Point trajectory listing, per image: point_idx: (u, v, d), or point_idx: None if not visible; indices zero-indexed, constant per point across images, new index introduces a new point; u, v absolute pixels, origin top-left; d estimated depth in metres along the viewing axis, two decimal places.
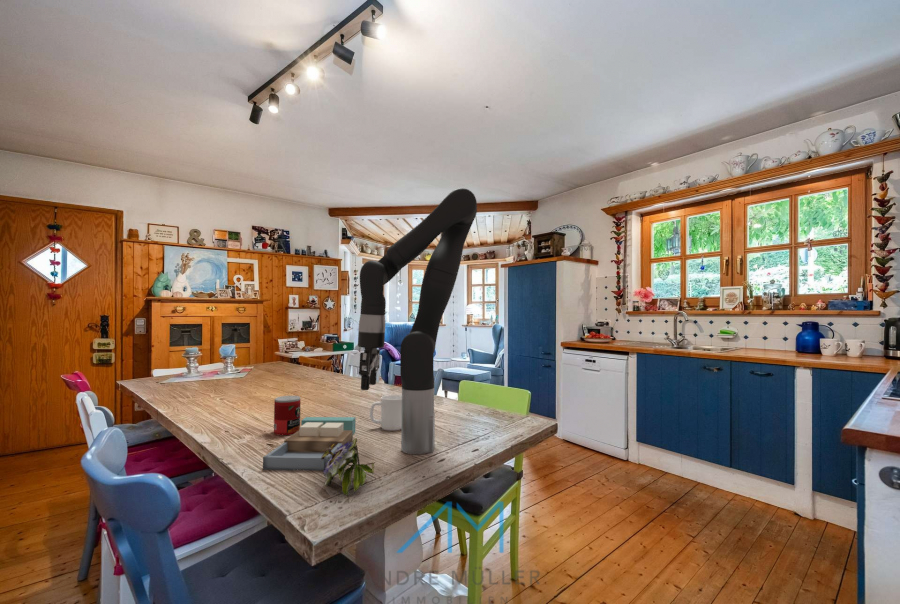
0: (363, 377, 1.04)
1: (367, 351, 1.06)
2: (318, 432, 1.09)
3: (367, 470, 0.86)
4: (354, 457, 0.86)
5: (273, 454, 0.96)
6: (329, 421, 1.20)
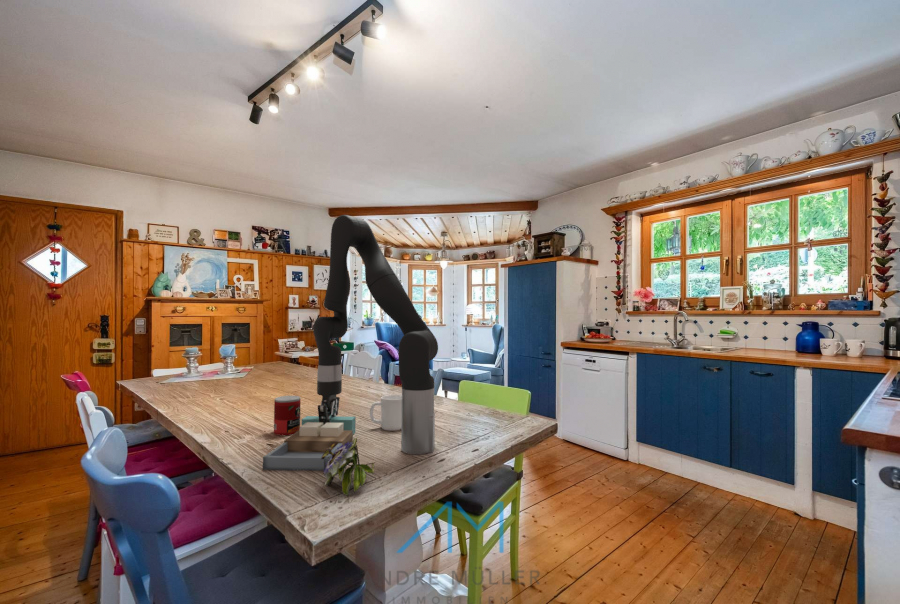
0: None
1: (325, 399, 1.19)
2: (318, 432, 1.09)
3: (367, 470, 0.86)
4: (354, 457, 0.86)
5: (273, 454, 0.96)
6: None
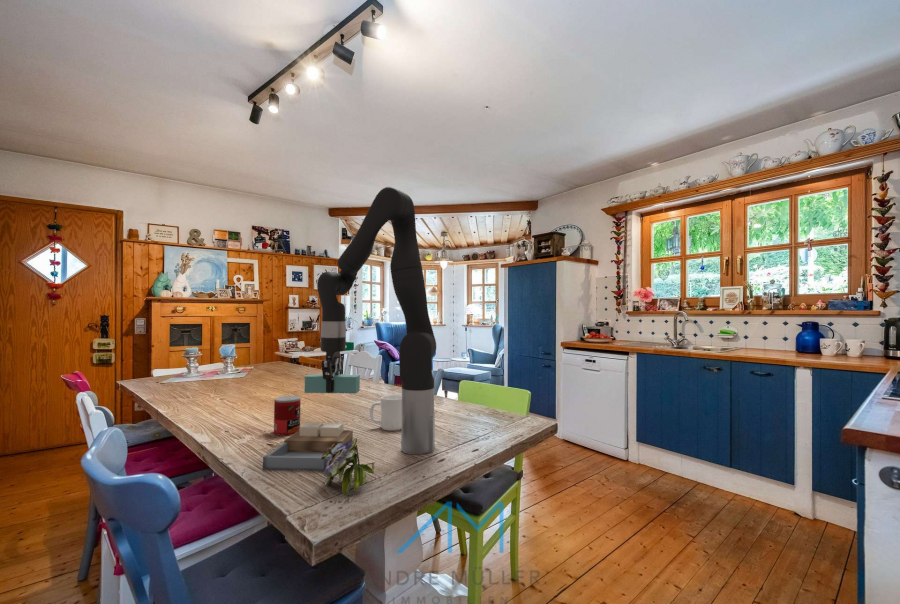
0: (327, 381, 1.16)
1: (328, 355, 1.16)
2: (318, 432, 1.09)
3: (367, 470, 0.86)
4: (354, 457, 0.86)
5: (273, 454, 0.96)
6: None
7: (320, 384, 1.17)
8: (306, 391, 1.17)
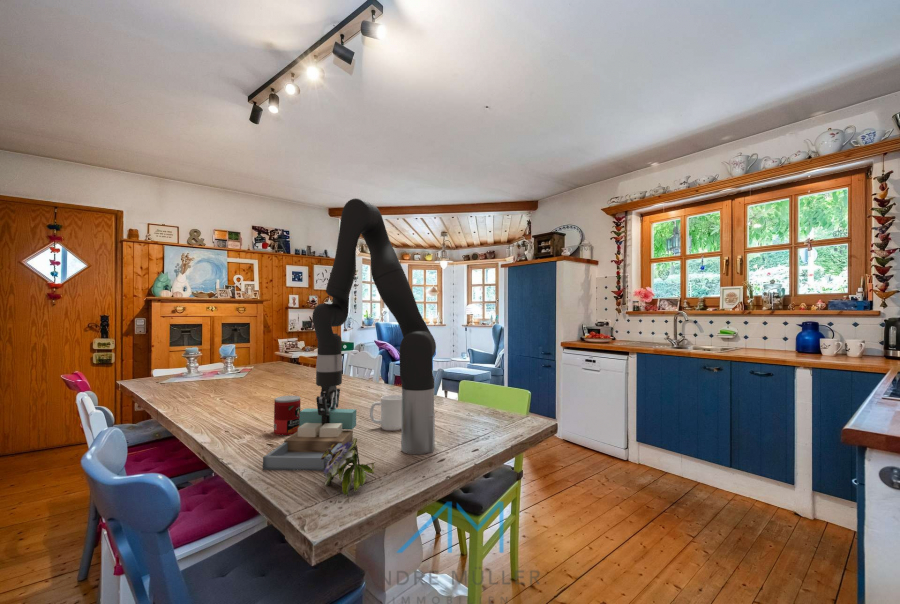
0: (323, 417, 1.13)
1: (324, 390, 1.12)
2: (316, 433, 1.08)
3: (367, 470, 0.86)
4: (354, 457, 0.86)
5: (273, 454, 0.96)
6: None
7: (316, 420, 1.14)
8: None
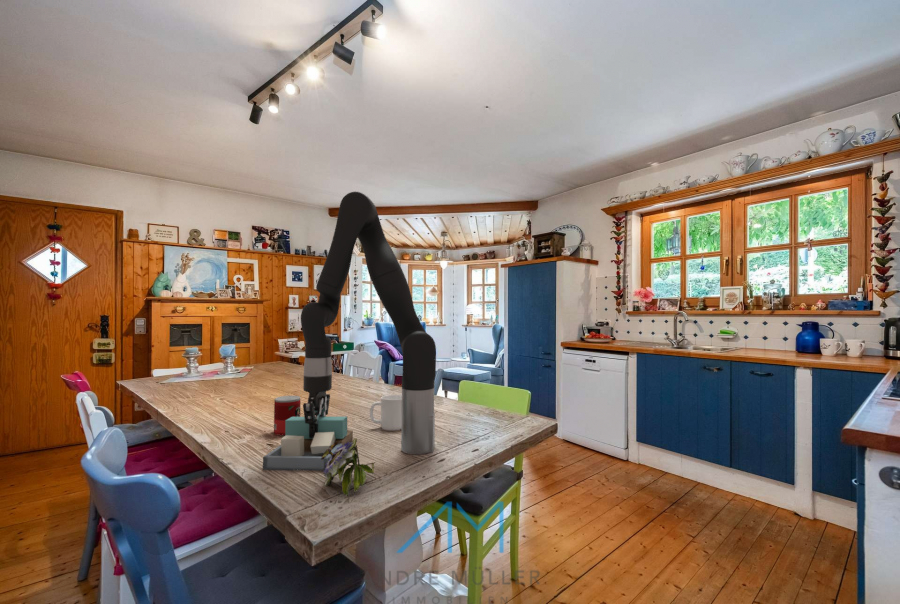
0: (310, 425, 1.04)
1: (312, 396, 1.04)
2: (302, 451, 1.01)
3: (367, 470, 0.86)
4: (354, 457, 0.86)
5: (273, 454, 0.96)
6: None
7: (303, 429, 1.05)
8: None
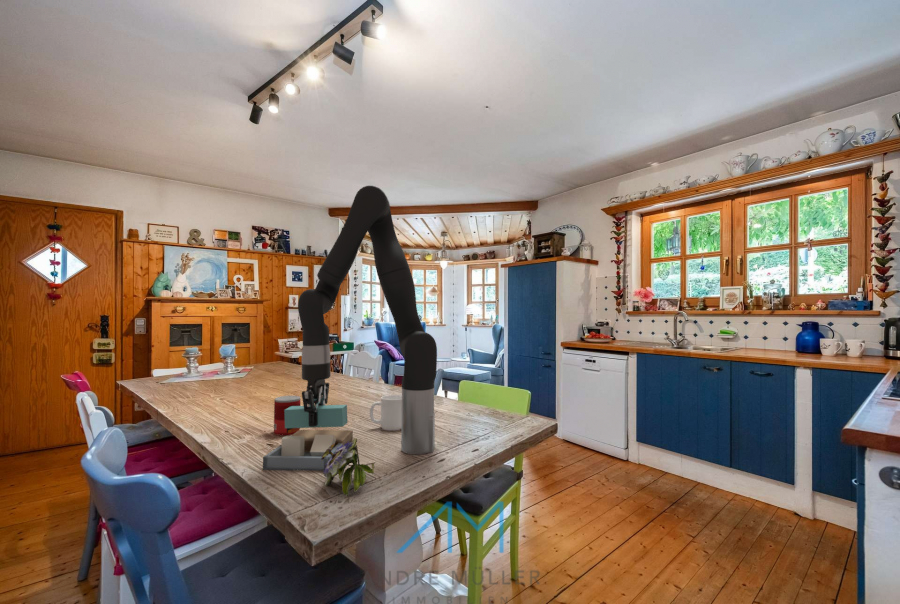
0: (310, 413, 1.02)
1: (310, 384, 1.02)
2: (303, 451, 1.01)
3: (367, 470, 0.86)
4: (354, 457, 0.86)
5: (273, 454, 0.96)
6: None
7: (302, 418, 1.04)
8: (287, 426, 1.04)
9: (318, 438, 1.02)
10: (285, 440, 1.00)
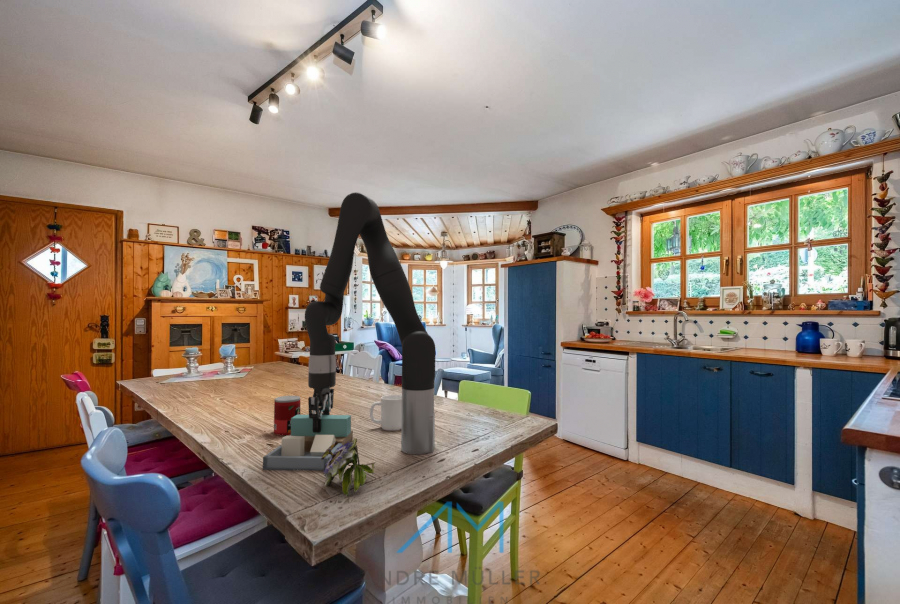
0: (314, 420, 1.06)
1: (317, 392, 1.07)
2: (303, 451, 1.01)
3: (367, 470, 0.86)
4: (354, 457, 0.86)
5: (273, 454, 0.96)
6: (321, 419, 1.08)
7: (308, 426, 1.08)
8: (293, 434, 1.08)
9: (318, 438, 1.02)
10: (285, 440, 1.00)
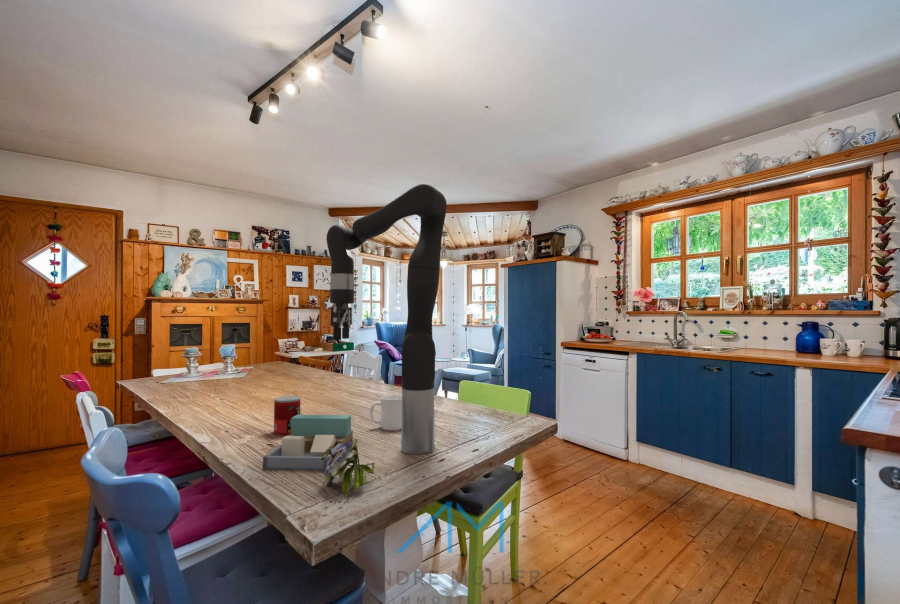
0: (335, 328, 1.17)
1: (338, 306, 1.19)
2: (303, 451, 1.01)
3: (367, 470, 0.85)
4: (354, 457, 0.86)
5: (273, 454, 0.96)
6: (321, 419, 1.08)
7: (308, 426, 1.08)
8: (293, 434, 1.08)
9: (318, 438, 1.02)
10: (285, 440, 1.00)
